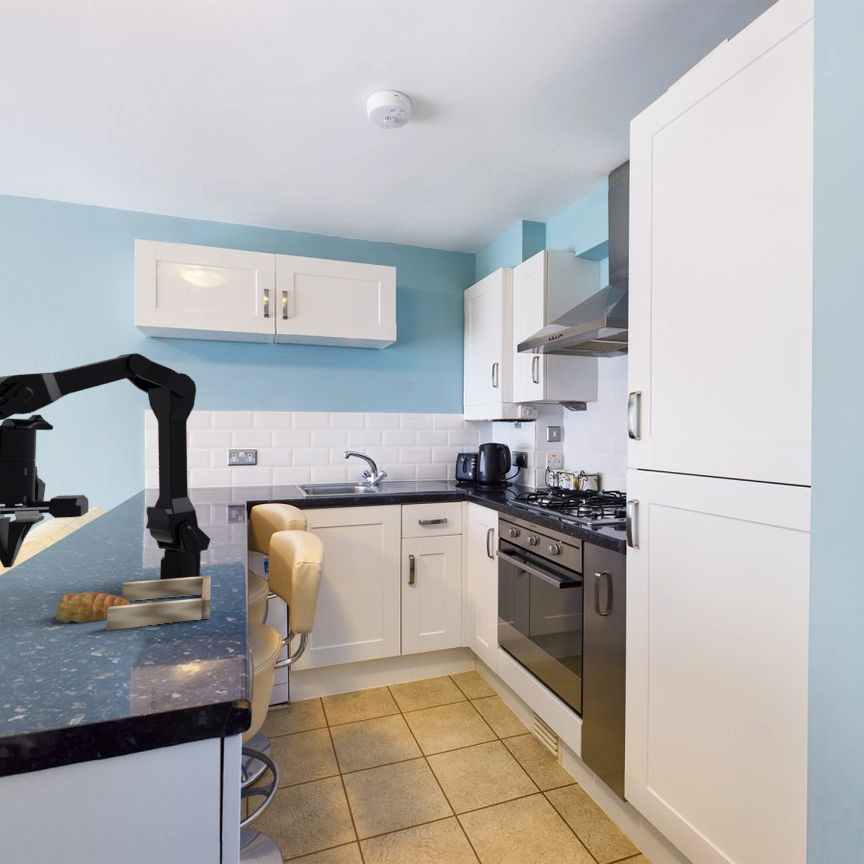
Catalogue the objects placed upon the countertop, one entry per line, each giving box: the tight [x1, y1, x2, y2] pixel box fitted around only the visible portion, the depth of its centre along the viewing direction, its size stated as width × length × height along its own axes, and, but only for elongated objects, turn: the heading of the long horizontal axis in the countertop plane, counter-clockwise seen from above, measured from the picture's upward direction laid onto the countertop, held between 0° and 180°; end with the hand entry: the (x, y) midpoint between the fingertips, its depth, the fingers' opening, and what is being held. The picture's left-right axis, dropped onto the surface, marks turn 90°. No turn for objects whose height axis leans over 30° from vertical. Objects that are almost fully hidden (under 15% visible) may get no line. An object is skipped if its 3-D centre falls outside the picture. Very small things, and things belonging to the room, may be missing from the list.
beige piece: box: [106, 575, 212, 631], centre depth 85 cm, size 14×15×3 cm
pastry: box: [54, 591, 131, 624], centre depth 81 cm, size 9×7×4 cm
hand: (8, 566), depth 77 cm, fingers closed
